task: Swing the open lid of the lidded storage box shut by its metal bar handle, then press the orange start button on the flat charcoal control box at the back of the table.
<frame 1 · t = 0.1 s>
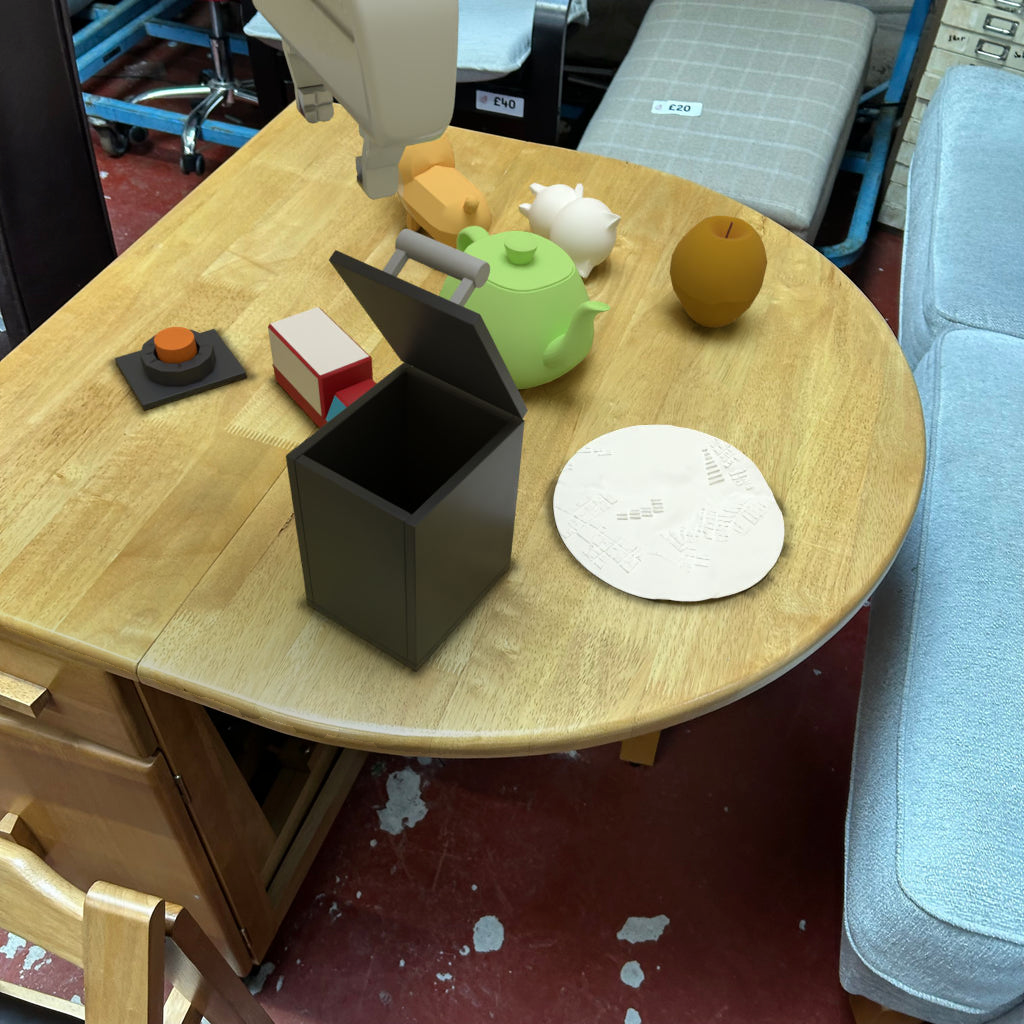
hand: (345, 152, 53), 34 cm above the table, tool pointing down, fingers open, 8 cm apart
storage box lid: (450, 316, 62), point 23 cm above the table, hinge at 60.0°
cat figurine: (573, 255, 111), on the table
dog: (434, 236, 112), on the table
control box: (181, 370, 92), on the table
teapot: (518, 362, 97), on the table
apple: (705, 320, 104), on the table
toy truck: (339, 414, 89), on the table
lidded storage box: (411, 585, 76), on the table
plaque: (667, 515, 83), on the table
start button: (175, 345, 90), point 3 cm above the table, slide at 0.1 cm
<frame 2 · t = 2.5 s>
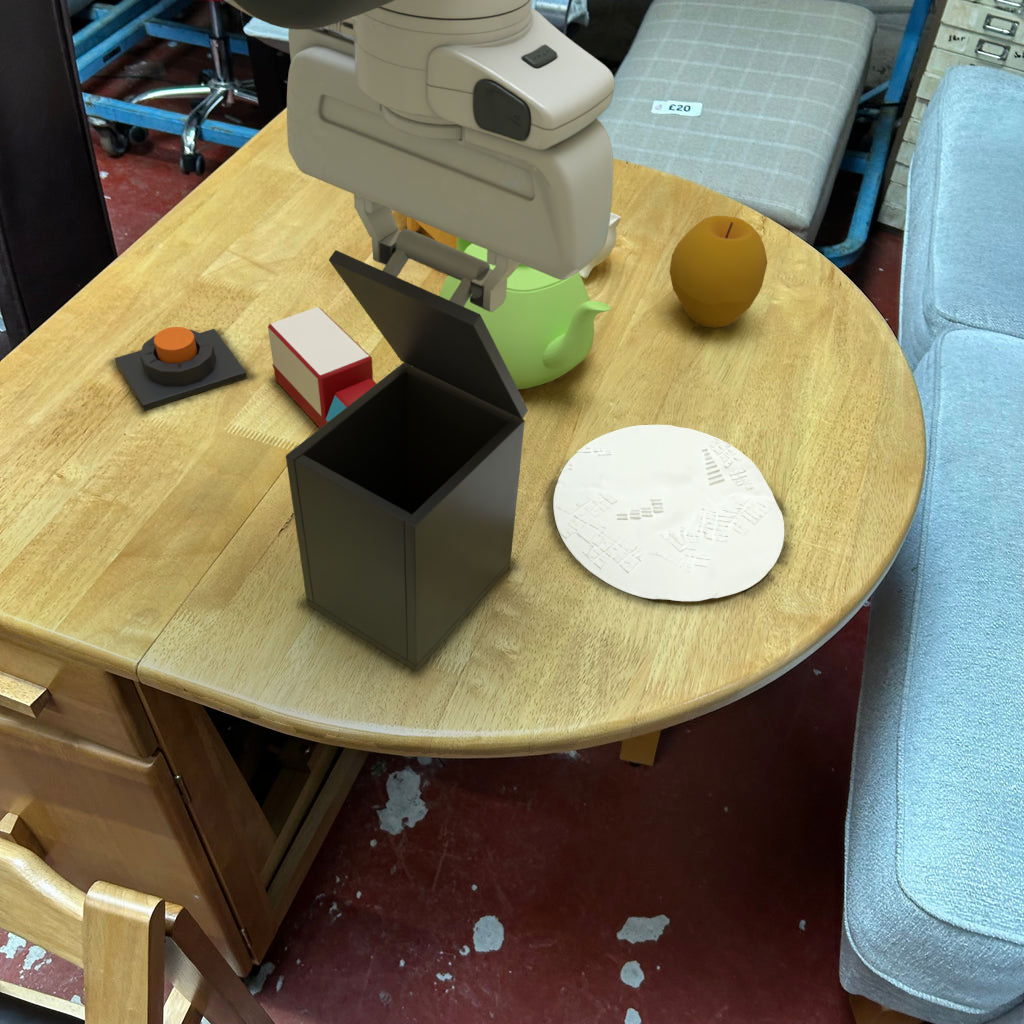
hand: (438, 282, 58), 26 cm above the table, tool pointing down, fingers closed on storage box lid, 6 cm apart
storage box lid: (450, 316, 62), point 23 cm above the table, hinge at 60.0°, touching gripper
everything else where it was.
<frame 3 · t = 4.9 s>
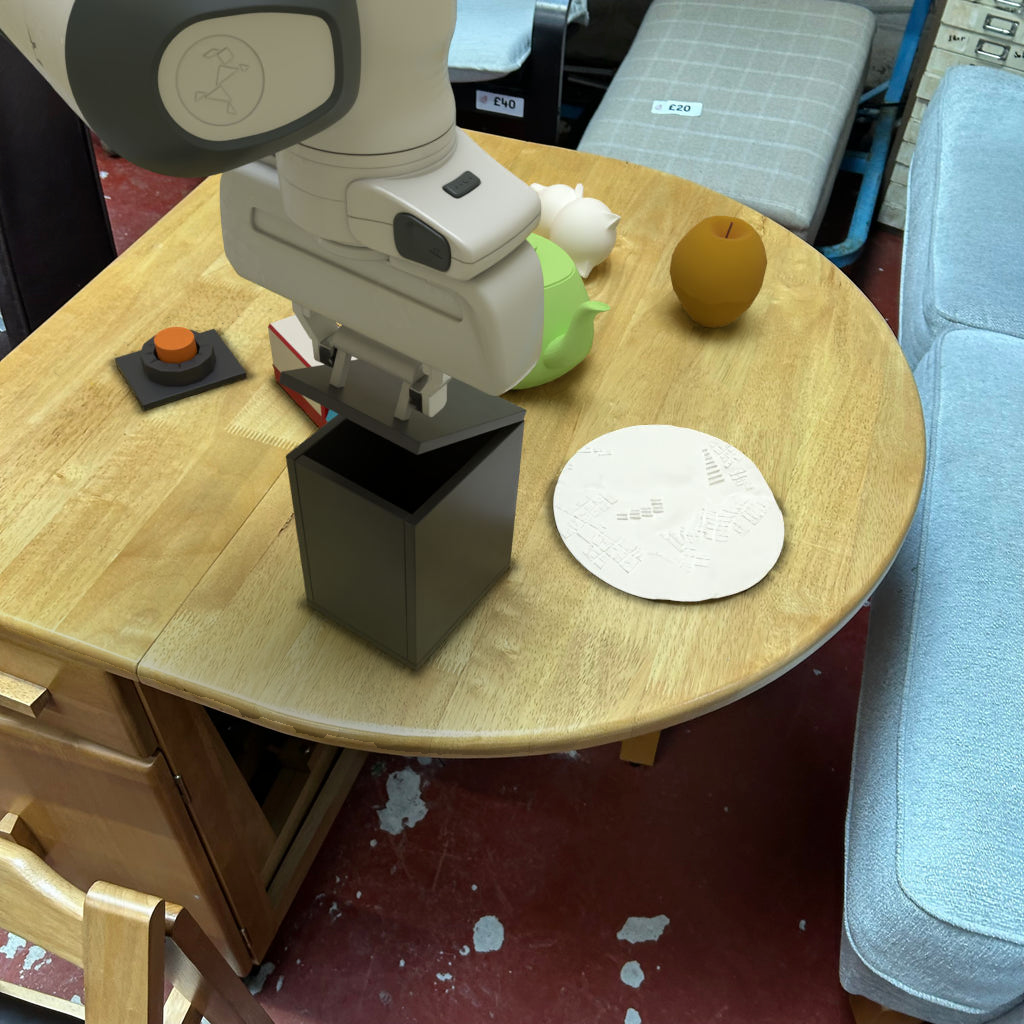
hand: (380, 383, 58), 22 cm above the table, tool pointing down, fingers closed on storage box lid, 6 cm apart
storage box lid: (417, 370, 61), point 21 cm above the table, hinge at 25.2°, touching gripper
everything else where it was.
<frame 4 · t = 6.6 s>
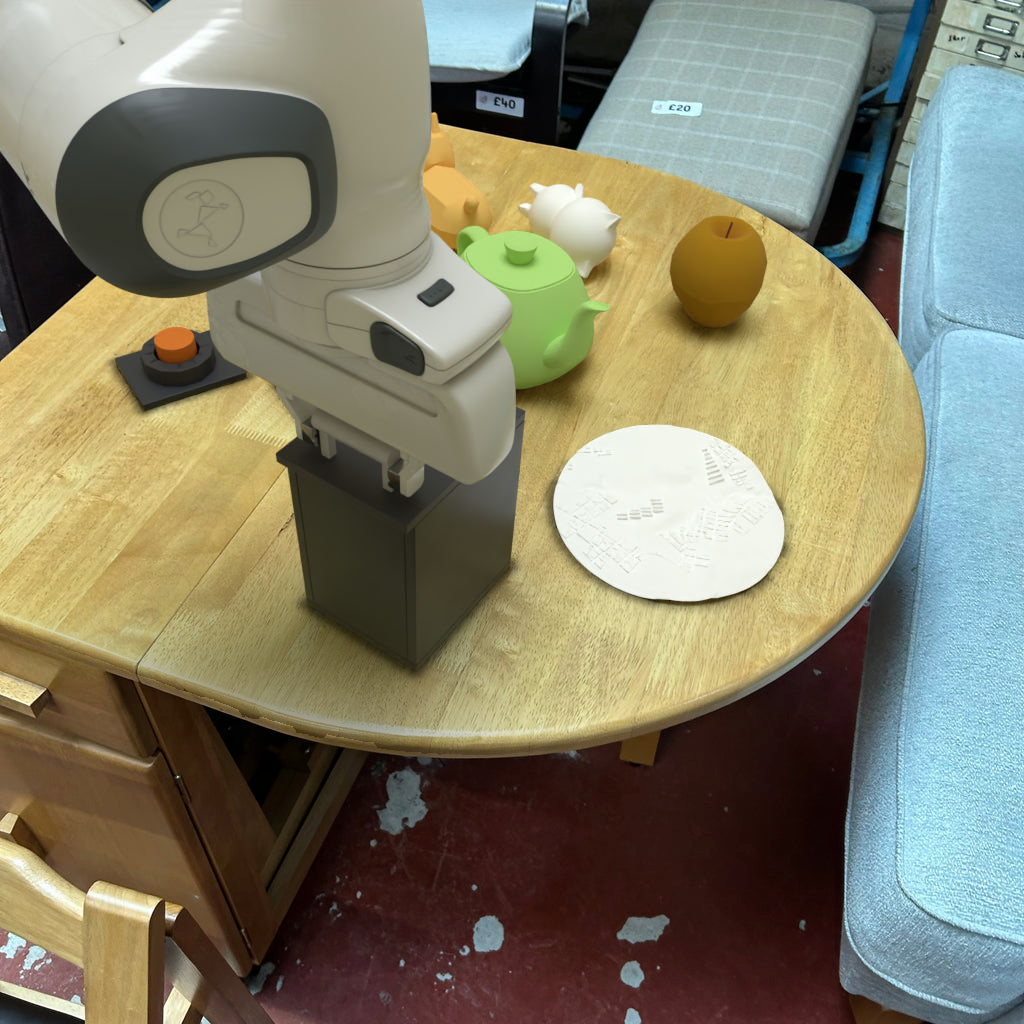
hand: (360, 462, 60), 17 cm above the table, tool pointing down, fingers closed on storage box lid, 6 cm apart
storage box lid: (404, 414, 62), point 18 cm above the table, hinge at -0.2°, touching lidded storage box, gripper
everything else where it was.
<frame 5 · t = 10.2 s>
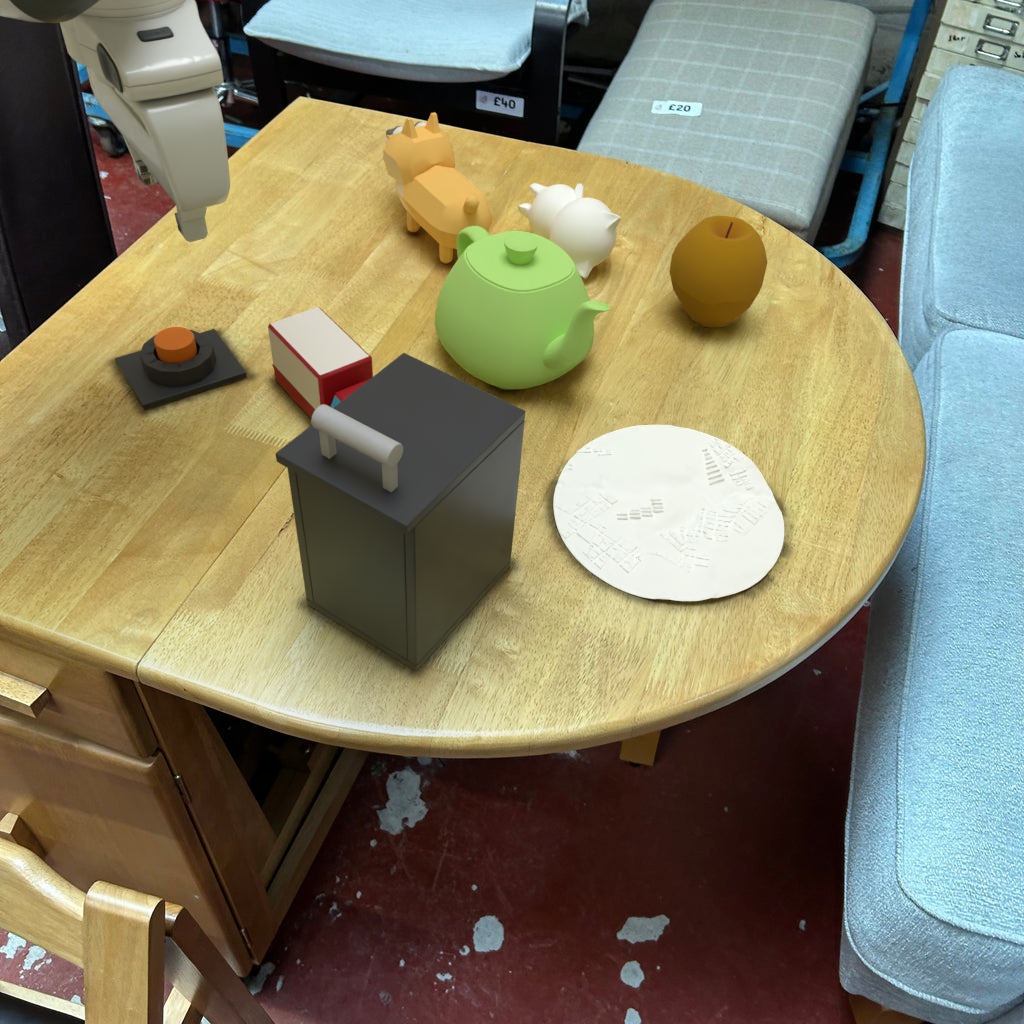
hand: (172, 207, 75), 20 cm above the table, tool pointing down, fingers open, 8 cm apart
storage box lid: (404, 413, 62), point 18 cm above the table, hinge at -0.2°, touching lidded storage box
everything else where it was.
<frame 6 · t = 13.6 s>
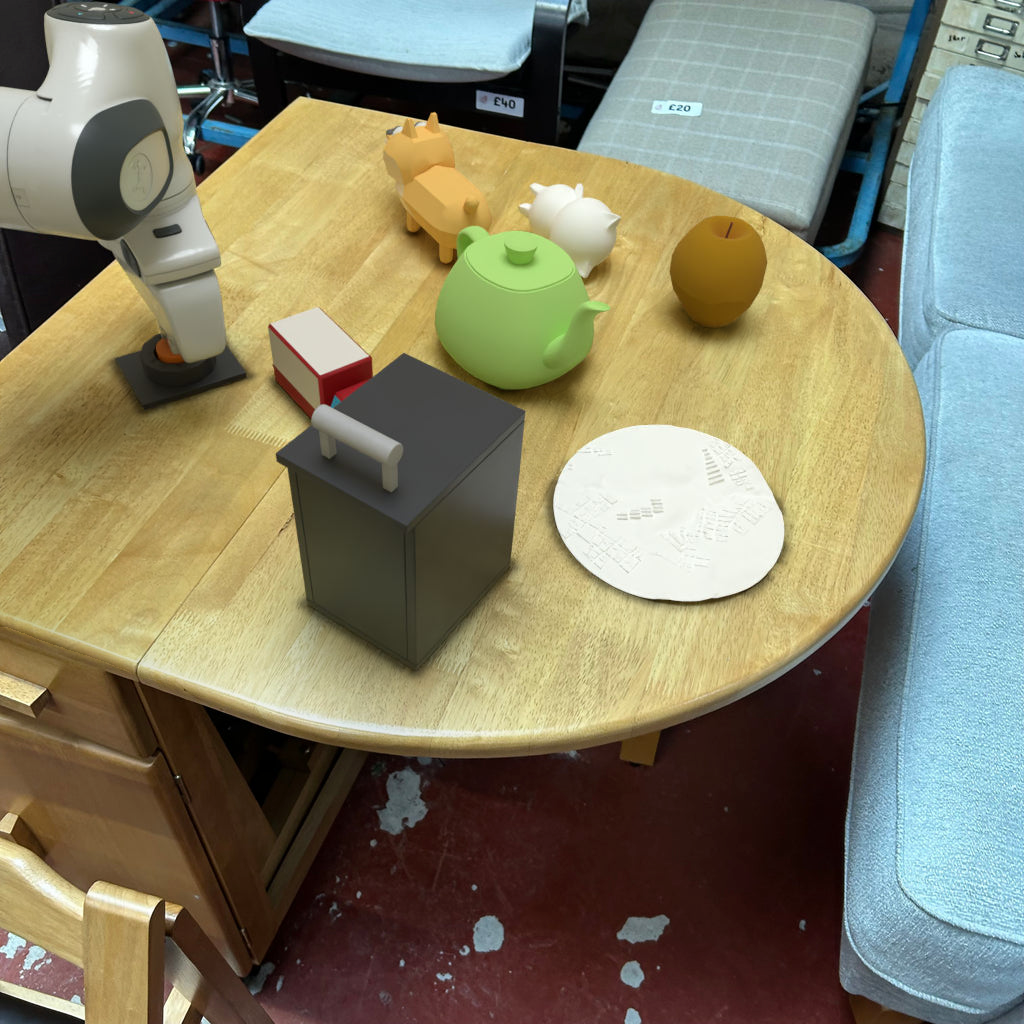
hand: (176, 345, 90), 3 cm above the table, tool pointing down, fingers closed, pressing on start button
start button: (177, 353, 90), point 2 cm above the table, slide at -0.8 cm, touching gripper
everything else where it was.
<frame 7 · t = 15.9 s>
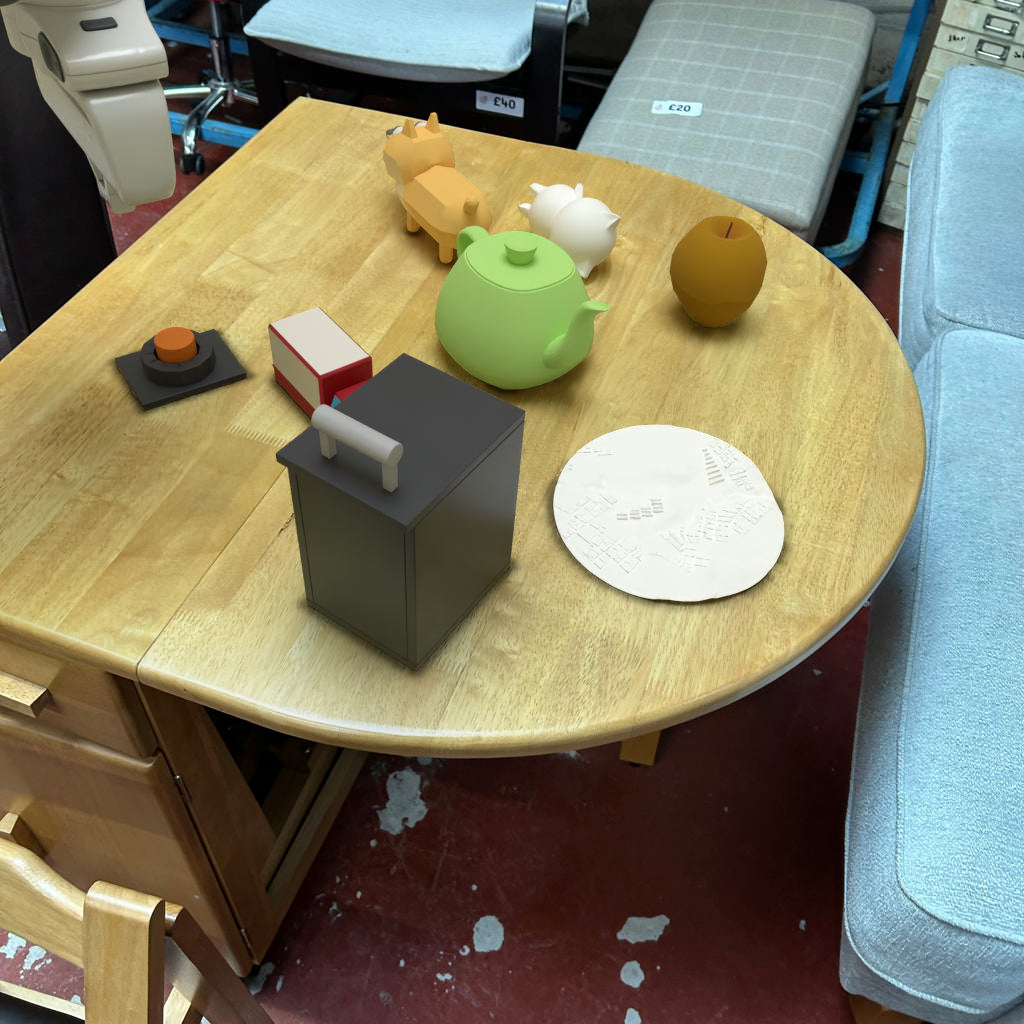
hand: (119, 204, 73), 20 cm above the table, tool pointing down, fingers closed
start button: (175, 345, 90), point 3 cm above the table, slide at 0.1 cm
everything else where it was.
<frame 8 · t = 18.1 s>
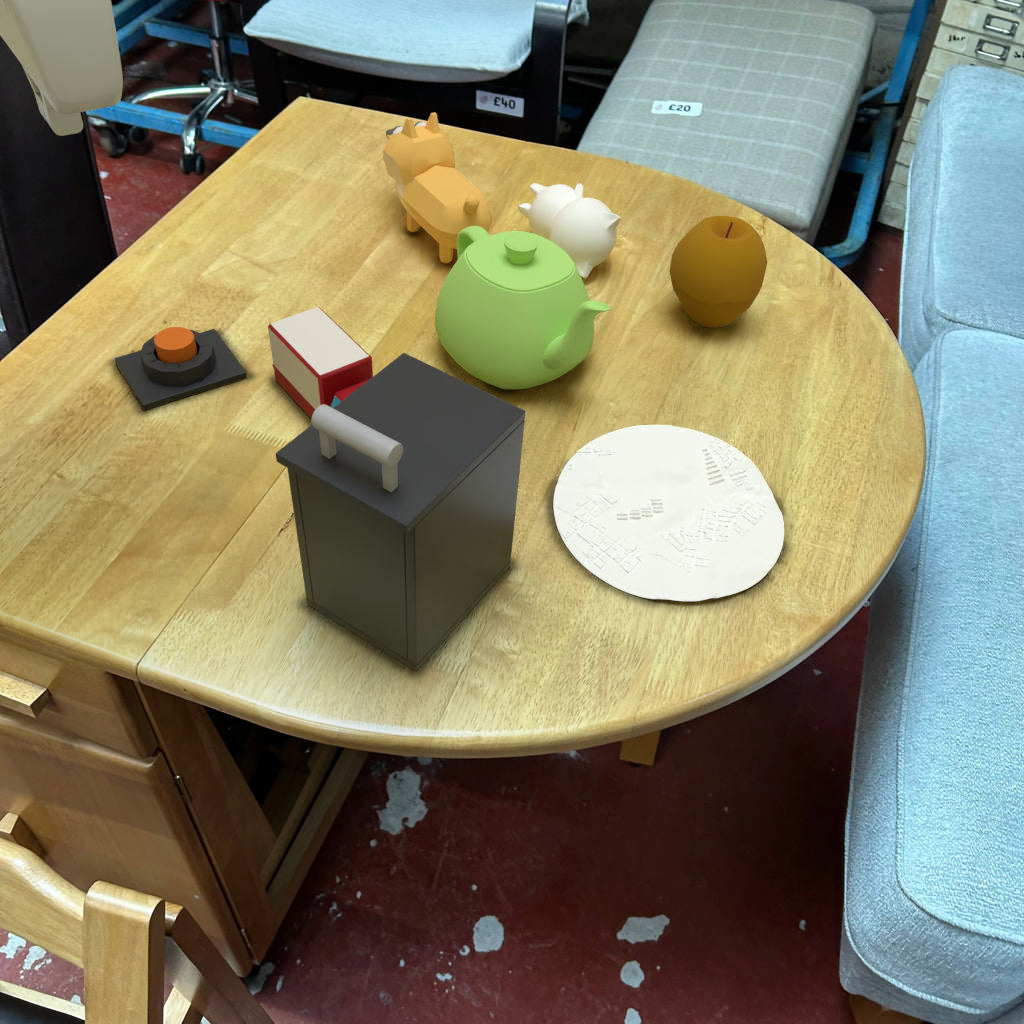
hand: (63, 125, 59), 31 cm above the table, tool pointing down, fingers closed
nothing on the table moved.
at the end: storage box lid at +0° (first picture: +60°); start button pushed in 1.0 cm at the most during the clip, back to where it started at the end; start button slide at 0.1 cm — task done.
